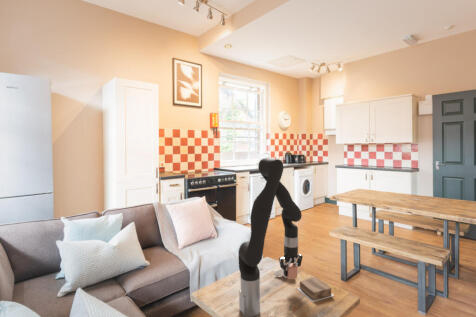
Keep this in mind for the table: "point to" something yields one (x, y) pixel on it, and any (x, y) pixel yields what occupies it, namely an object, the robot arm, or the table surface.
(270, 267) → the table surface
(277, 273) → the white speckled wedge
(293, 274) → the terracotta block
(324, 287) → the walnut plinth
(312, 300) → the grey flat square slab
